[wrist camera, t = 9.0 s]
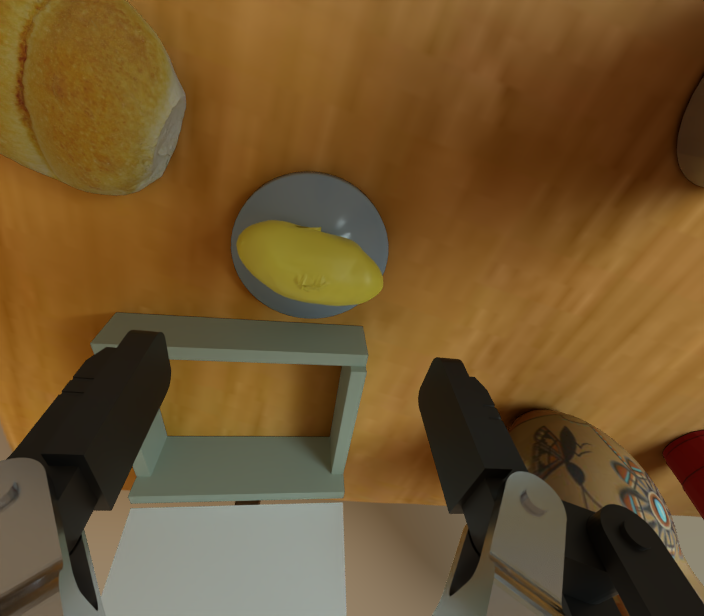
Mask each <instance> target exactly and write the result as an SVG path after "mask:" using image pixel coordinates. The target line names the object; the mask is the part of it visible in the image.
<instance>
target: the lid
mask: <svg viewBox="0 0 704 616" xmlns="http://www.w3.org/2000/svg"><path fill="white" fill-rule="evenodd" d="M345 588H346V587H345V558H344V527H343V503H307V504H274V505H273V504H271V505H234V506H199V507H166V508H165V507H163V508H131V509H130V512H129V515H128V518H127V521H126V524H125V527H124V530H123V533H122V536H121V539H120V542H119V545H118V548H117V551H116V554H115V557H114V560H113V563H112V566H111V569H110V572H109V575H108V578H107V581H106V584H105V587H104V590H103V593H102V596H101V600H102V604H103V608H104V611H105V615H106V616H346V589H345Z"/></svg>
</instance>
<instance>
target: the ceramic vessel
mask: <svg viewBox="0 0 704 616" xmlns="http://www.w3.org/2000/svg"><path fill="white" fill-rule="evenodd" d="M508 432H509V434H510V436H511V438H512V440H513V442H514V444H515V446H516V448H517V450H518V452H519V454H520V456H521V458H522V460H523V462H524V464H525V466H526V468H527V470H528V471H529V473H531V474H533V475H536V476H537V477H539V478H541V479H542V480H544V481H545V482H546V483H547V484H548V485H549V486H550V487H551V488H552V489H553V490H554V491H555V492H556V493H557V495H558V496H559V498H560V499H561V500H563V501H566V502H569V503H571V504H574V505H577V506H580V507H582V508H585V509H588V510H591V511H593V512H597V511H599V510H600V509H601V508H603V507H604V506H605V505H608V504H616V505H620V506H623V507H625V508H627V509H629V510H631V511H633V512H634V513H636V514H637V515H638V516H640V517H641V518H642V519H643V520H645V521H646V522H647V523H648V524H649V525H650V526H651V527H652V529H653V530H654V531H655V532H656V533H657V535H658V536H659V537H660V539H661V540H662V542H663V543H664V545H665V546H666V548H667V549H668V551H669V552H670V554H671V555H672V557H673V558H674V560H675V561H676V563H677V564H678V566H679V567H680V569H681V570H682V572H683V573H684V575H685V576H686V578H687V579H688V581H689V582H690V584H691V585H692V587H693V588H694V590H695V591H696V593H697V594H698V596H699V597H700V599H701V600H702V602H703V603H704V586H703V585H702V583H701V582H700V581H699V580H698V578H697V577H696V575H695V574H694V572H693V571H692V570H691V568H690V566H689V565H688V563H687V561H686V559H685V557H684V555H683V553H682V551H681V548H680V545H679V541H678V537H677V533H676V529H675V525H674V522H673V519H672V517H671V514H670V512H669V509H668V507H667V505H666V503H665V501H664V499H663V497H662V496H661V494H660V492H659V490H658V489H657V487H656V486H655V484H654V483H653V481H652V480H651V478H650V477H649V476H648V474H647V473H646V472H645V471H644V469H643V468H642V467H641V466H640V465H639V463H638V462H637V461H636V460H635V459H634V458H633V457H632V456H631V455H630V454H629V453H628V452H627V451H626V450H625V449H624V448H623V447H622V446H621V445H619V444H618V443H617V442H616V441H615V440H613V439H612V438H611V437H609V436H608V435H607V434H605V433H604V432H602V431H601V430H599V429H598V428H596V427H595V426H593V425H591V424H589V423H587V422H586V421H583V420H581V419H579V418H577V417H574V416H572V415H569V414H565V413H562V412H558V411H553V410H534V411H530V412H527V413H524V414H522V415H521V416H519V417H518V418H517V419H516V420H515V421H514V422H513V423H512V425H511V426H510V428H509V430H508ZM613 599H614V601H615V603H616V605H617V607H618V609H619V611H620V613H621V615H622V616H630V615H629V613H628V611H627V609H626V608H625V606H624V604H623V602H622V600H621V598H620V596H619V594H618V595H616V596H614V597H613Z"/></svg>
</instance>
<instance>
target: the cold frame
mask: <svg viewBox="0 0 704 616" xmlns="http://www.w3.org/2000/svg"><path fill="white" fill-rule="evenodd" d="M130 330H144V331H155V332H162V333H164V335H165V339H166V345H167V350H168V356H169V359H175V360H202V361H230V362H257V363H284V364H311V365H338V366H342V369H341V374H340V380H339V386H338V392H337V398H336V404H335V410H334V415H333V421H332V427H331V433H330V437H220V436H167V434H166V430H165V426H164V423H163V419H162V416H161V412H160V408H159V410H158V412H157V415H156V417H155V419H154V421H153V423H152V425H151V427H150V429H149V432H148V434H147V436H146V438H145V440H144V442H143V444H142V447H141V449H140V451H139V453H138V455H137V457H136V459H135V461H134V464H133V469H134V471H135V473H136V476H137V477H136V480H135V482H134V484H133V486H132V489H131V491H130V493H129V496H128V498H129V500H130V503H131V504H132V503H173V502H208V501H209V502H212V501H251V500H285V499H286V500H290V499H329V498H343V496H344V492H345V491H344V477H343V473H344V468H345V464H346V460H347V455H348V451H349V447H350V442H351V438H352V434H353V429H354V425H355V421H356V416H357V412H358V408H359V403H360V399H361V395H362V390H363V386H364V382H365V377H366V373H367V371H366V363H367V359H368V351H367V346H366V341H365V335H364V330H363V326H349V325H331V324H313V323H295V322H277V321H259V320H241V319H224V318H206V317H188V316H170V315H152V314H134V313H115V314H114V316H113V317H112V318H111V319H110V320H109V322H108V323H107V324H106V325H105V326H104V328H103V329H102V330H101V331H100V332H99V333H98V335H97V336H96V337H95V338H94V339H93V341H92V342H91V343H90V344H91V347H92V349H93V352H94V355H95V354H96V353H98V352H99V351H101V350H102V349H104V348H105V347H115V348H117V346H118V345H119V344H120V342H121V341H122V340H123V338H124V337H125V335H126V334H127V333H128V332H129V331H130Z"/></svg>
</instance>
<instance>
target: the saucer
mask: <svg viewBox="0 0 704 616" xmlns="http://www.w3.org/2000/svg"><path fill="white" fill-rule="evenodd" d="M267 220H279V221H285V222H290V223H293V224H296V225H299V226H304V227H311V228H312V227H321V232H324V233H328V234H333V235H337V236H341V237H344V238H347V239H350V240H352V241H354V242H355V243H357V244H358V245H359V246H360V247H361V249H362V250H363V251H364V252H365V253H366V254H367V255H368V256H369V257H370V258H371V259H372V260H373V261H374V262H375V263H376V264H377V266H378V267H379V269H380V271H381V274H382V276H383V273H384V271H385V268H386V264H387V259H388V238H387V233H386V230H385V226H384V224H383V222H382V219H381V217H380V215H379V213H378V211H377V209H376V208H375V206H374V205H373V203H372V202H371V201H370V200H369V198H368V197H367V196H366V195H365V194H364V193H363V192H362V191H361V190H359V189H358V188H357V187H355V186H354V185H352V184H351V183H349V182H347V181H345V180H343V179H341V178H339V177H336V176H333V175H330V174H326V173H321V172H311V171H304V172H294V173H290V174H285V175H282V176H280V177H277V178H274V179H272V180H271V181H269V182H267V183H265V184H264V185H262V186H261V187H260V188H259V189H257V190H256V191H255V192H254V193H253V194H252V195H251V196H250V197H249V198H248V200H247V201H246V203H245V204H244V205H243V207H242V209H241V211H240V213H239V215H238V217H237V219H236V221H235V224H234V227H233V231H232V237H231V252H232V259H233V262H234V266H235V269H236V271H237V273H238V276H239V277H240V279H241V281H242V282H243V284H244V285H245V287H246V288H247V289H248V290H249V292H250V293H251V294H253V295H254V296H255V297H256V298H257V299H258V300H259V301H261V302H262V303H263V304H265V305H266V306H268V307H270V308H271V309H273V310H276V311H278V312H280V313H283V314H286V315H289V316H294V317H299V318H325V317H330V316H334V315H337V314H340V313H343V312H345V311H348V310H350V309H352V308H353V307H355V306H357V305H358V304H356V305H347V306H330V305H321V304H314V303H306V302H301V301H297V300H293V299H290V298H287V297H284V296H282V295H280V294H278V293H276V292H274V291H273V290H271V289H270V288H269V287H267V286H266V285H265V284H263V283H262V282H261V281H259V280H258V279H257V278H256V277H255V276H253V275H252V274H251V273H250V271H249V270H248V269H247V268H246V267H245V265H244V264H243V263H242V261H241V259H240V257H239V255H238V251H237V246H236V243H237V240H238V237H239V235H240V234H241V233H242V231H243V230H244V229H246V228H247V227H249V226H251V225H253V224H256V223H259V222H263V221H267Z"/></svg>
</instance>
